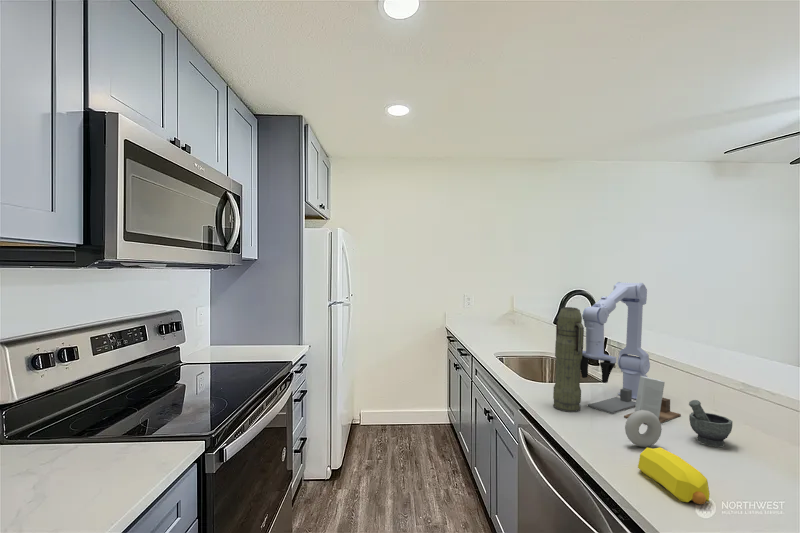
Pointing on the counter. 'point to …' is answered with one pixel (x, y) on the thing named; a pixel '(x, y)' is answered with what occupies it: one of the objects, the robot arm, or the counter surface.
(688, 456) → the counter surface
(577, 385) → the thermos
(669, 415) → the walnut strip
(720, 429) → the mortar and pestle
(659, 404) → the skincare box
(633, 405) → the charcoal strip
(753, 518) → the counter surface
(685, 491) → the yellow banana
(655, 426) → the donut
